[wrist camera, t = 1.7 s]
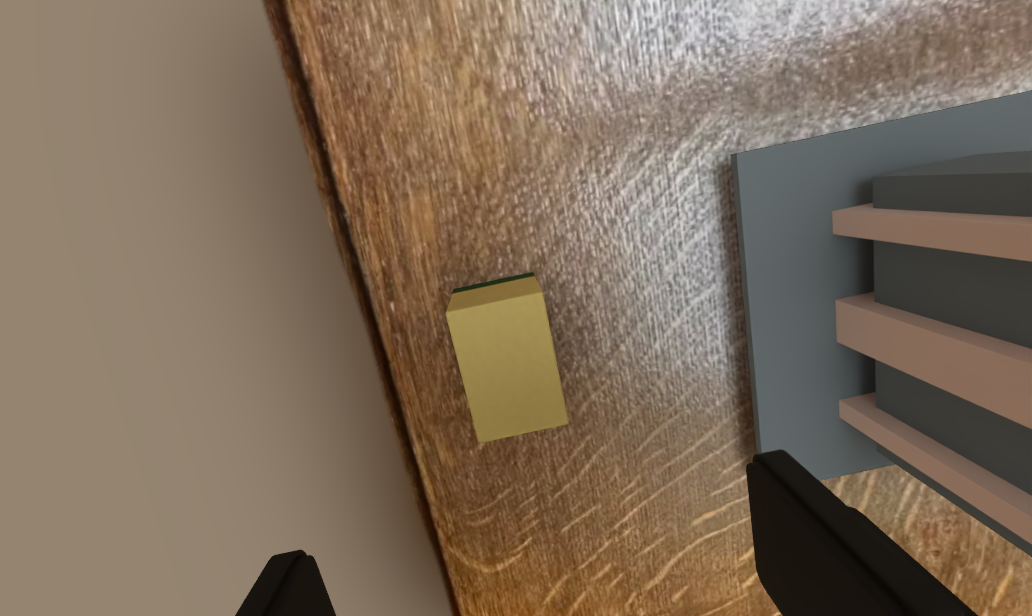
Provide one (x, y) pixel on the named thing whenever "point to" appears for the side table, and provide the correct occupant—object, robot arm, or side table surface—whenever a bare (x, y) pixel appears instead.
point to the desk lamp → (898, 302)
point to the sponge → (506, 357)
